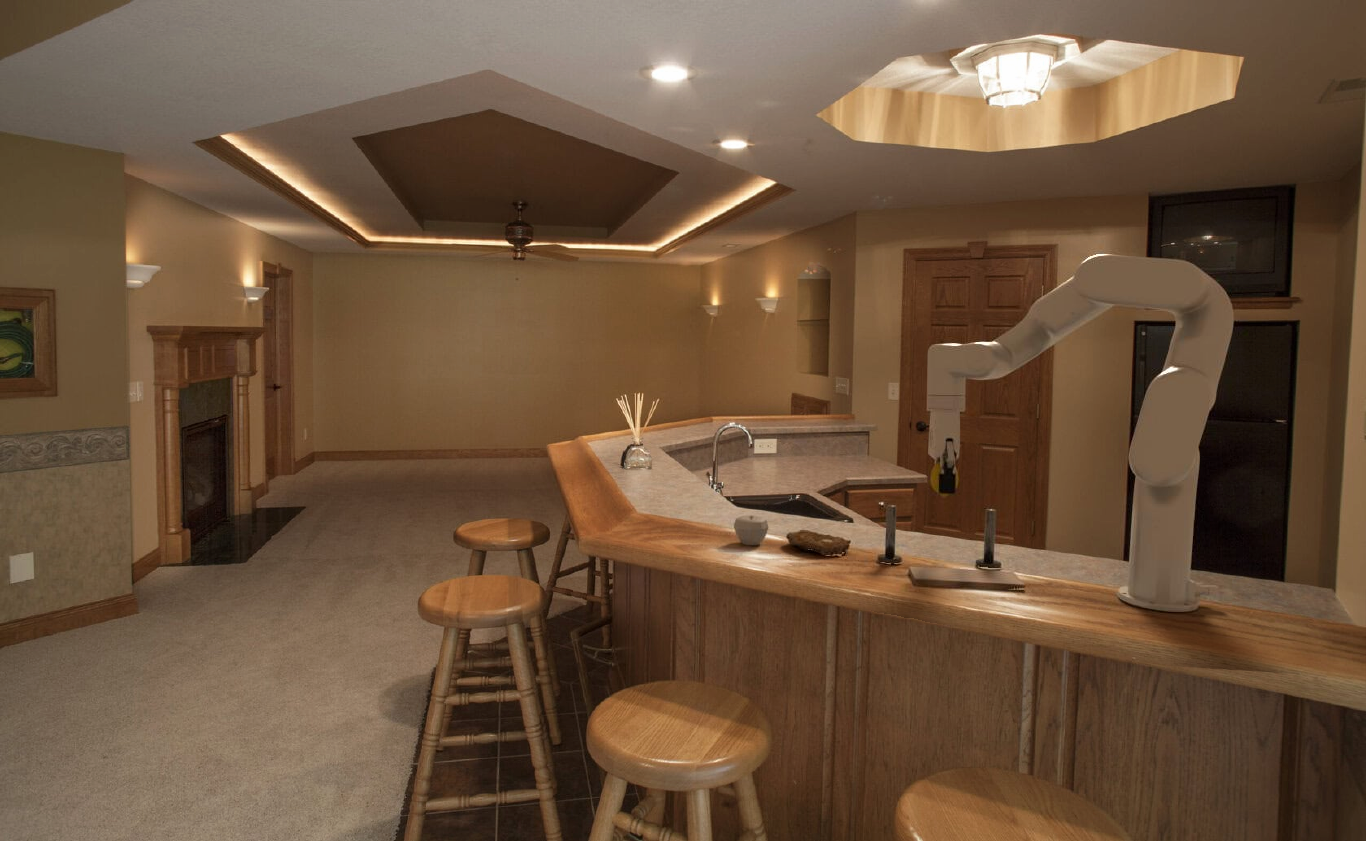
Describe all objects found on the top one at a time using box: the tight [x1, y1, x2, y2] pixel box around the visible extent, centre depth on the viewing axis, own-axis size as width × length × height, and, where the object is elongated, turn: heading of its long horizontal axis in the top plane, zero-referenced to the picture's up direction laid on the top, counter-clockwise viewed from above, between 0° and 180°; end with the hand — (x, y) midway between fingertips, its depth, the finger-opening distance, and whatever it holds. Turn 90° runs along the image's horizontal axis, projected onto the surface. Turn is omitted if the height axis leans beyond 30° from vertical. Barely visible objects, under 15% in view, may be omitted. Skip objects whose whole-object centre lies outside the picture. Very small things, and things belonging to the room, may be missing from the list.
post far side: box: [877, 504, 903, 564], centre depth 170 cm, size 5×5×12 cm
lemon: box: [930, 462, 959, 498], centre depth 167 cm, size 6×6×8 cm
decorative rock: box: [785, 529, 852, 557], centre depth 180 cm, size 11×4×15 cm
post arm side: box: [975, 508, 1002, 569], centre depth 167 cm, size 5×5×12 cm
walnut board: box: [908, 565, 1026, 590], centre depth 157 cm, size 20×9×1 cm, turn 82°
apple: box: [733, 514, 769, 546], centre depth 185 cm, size 8×8×7 cm
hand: (944, 490), depth 167 cm, fingers closed on lemon, 5 cm apart
